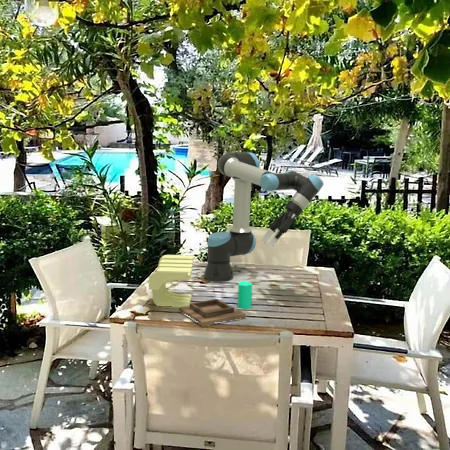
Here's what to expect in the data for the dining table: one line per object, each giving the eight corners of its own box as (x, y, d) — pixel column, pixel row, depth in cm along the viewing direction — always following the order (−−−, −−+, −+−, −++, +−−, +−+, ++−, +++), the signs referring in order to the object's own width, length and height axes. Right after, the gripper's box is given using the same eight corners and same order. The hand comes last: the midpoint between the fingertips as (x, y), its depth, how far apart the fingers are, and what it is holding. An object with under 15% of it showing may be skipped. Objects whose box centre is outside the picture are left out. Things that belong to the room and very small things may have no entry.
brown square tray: (178, 311, 214) (178, 302, 214) (219, 304, 225) (219, 295, 224) (202, 327, 198) (203, 317, 197) (245, 318, 209) (245, 308, 208)
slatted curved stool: (159, 291, 242) (159, 254, 238) (193, 292, 241) (193, 255, 238) (148, 313, 212) (148, 271, 209) (187, 314, 212) (187, 272, 209)
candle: (237, 304, 225) (237, 278, 223) (250, 304, 226) (251, 278, 224) (238, 308, 220) (239, 282, 217) (252, 308, 220) (253, 281, 218)
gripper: (312, 211, 214) (281, 250, 212) (294, 210, 238) (265, 245, 237) (299, 199, 212) (267, 239, 211) (282, 199, 237) (253, 235, 235)
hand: (266, 242), depth 224 cm, fingers open, 13 cm apart
